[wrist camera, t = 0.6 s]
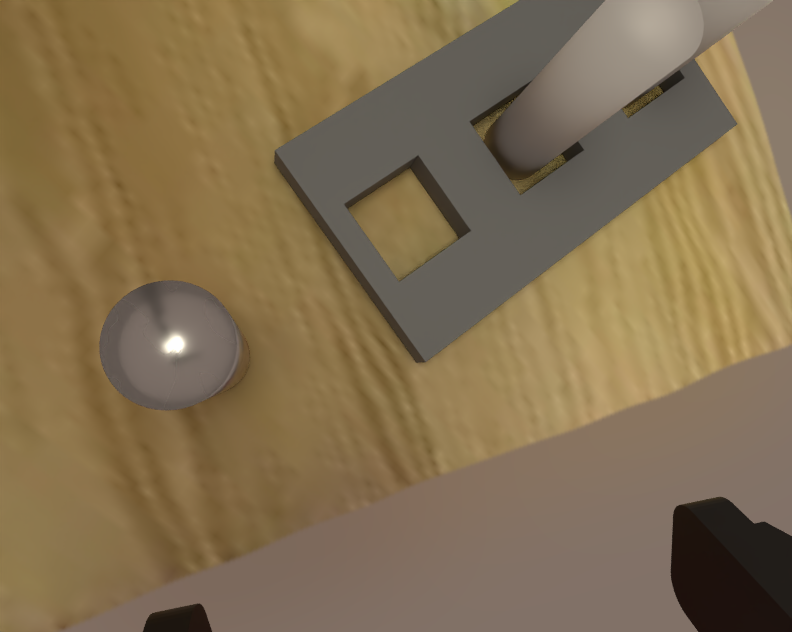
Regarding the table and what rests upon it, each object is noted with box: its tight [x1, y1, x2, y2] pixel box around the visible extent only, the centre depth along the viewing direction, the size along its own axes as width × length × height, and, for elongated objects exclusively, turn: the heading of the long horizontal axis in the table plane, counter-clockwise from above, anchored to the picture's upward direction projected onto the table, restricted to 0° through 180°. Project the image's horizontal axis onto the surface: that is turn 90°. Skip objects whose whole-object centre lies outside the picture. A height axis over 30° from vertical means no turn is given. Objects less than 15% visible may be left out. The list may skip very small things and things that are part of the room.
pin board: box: [274, 0, 773, 363], centre depth 30 cm, size 14×26×14 cm, turn 127°
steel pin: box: [100, 281, 250, 410], centre depth 25 cm, size 4×4×14 cm
